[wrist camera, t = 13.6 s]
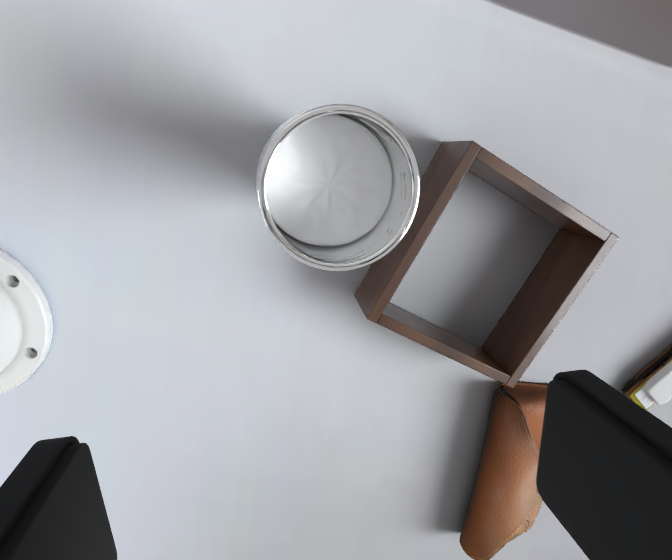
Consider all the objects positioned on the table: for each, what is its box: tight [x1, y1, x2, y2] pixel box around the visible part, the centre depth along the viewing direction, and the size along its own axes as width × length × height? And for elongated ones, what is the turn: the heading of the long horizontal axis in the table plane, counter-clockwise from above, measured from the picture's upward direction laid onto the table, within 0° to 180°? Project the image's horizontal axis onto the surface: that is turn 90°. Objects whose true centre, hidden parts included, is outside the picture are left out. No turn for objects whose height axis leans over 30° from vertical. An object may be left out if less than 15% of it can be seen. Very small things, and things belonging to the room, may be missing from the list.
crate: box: [354, 141, 618, 388], centre depth 32 cm, size 14×14×5 cm
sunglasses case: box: [460, 381, 548, 560], centre depth 40 cm, size 18×7×7 cm
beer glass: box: [256, 104, 420, 271], centre depth 24 cm, size 7×7×15 cm
